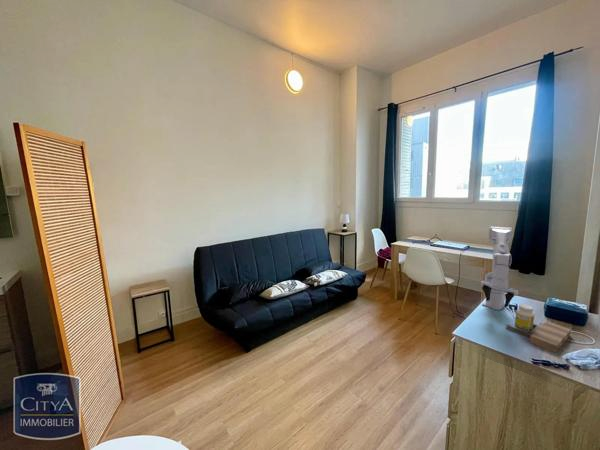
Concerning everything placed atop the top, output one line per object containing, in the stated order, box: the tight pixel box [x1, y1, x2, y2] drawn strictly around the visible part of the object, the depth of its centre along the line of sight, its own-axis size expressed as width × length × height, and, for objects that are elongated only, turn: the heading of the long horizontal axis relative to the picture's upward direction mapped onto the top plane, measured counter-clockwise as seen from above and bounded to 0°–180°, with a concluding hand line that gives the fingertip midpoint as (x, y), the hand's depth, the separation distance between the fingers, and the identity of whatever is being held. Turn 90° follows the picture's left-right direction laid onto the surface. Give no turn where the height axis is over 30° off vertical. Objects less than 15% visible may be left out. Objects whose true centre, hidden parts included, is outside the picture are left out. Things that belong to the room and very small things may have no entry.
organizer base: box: [505, 321, 572, 353], centre depth 110 cm, size 20×18×3 cm
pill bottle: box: [514, 303, 535, 333], centre depth 114 cm, size 6×6×11 cm
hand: (496, 303), depth 122 cm, fingers open, 7 cm apart
